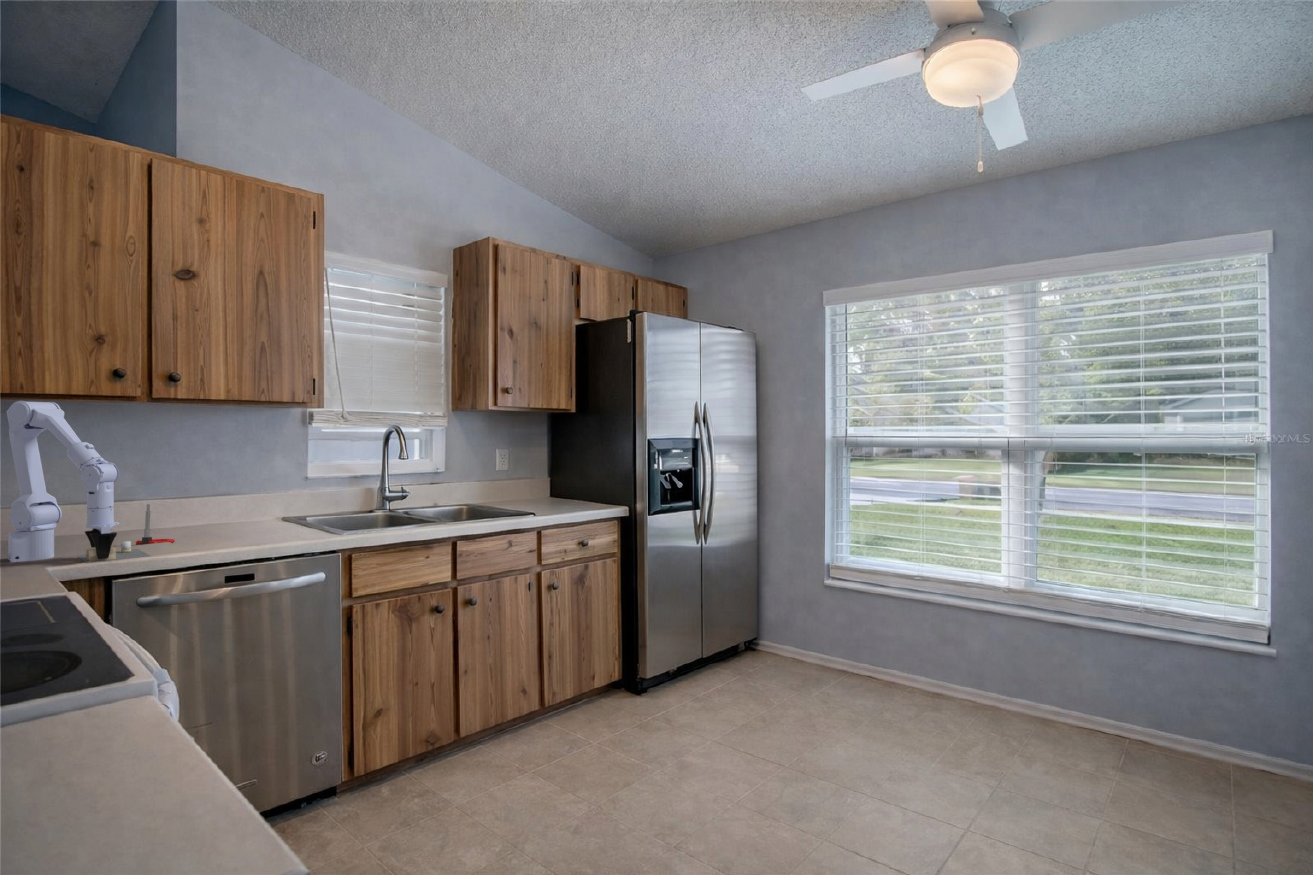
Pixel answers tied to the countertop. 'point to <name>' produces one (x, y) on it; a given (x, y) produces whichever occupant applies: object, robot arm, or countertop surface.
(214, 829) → the countertop surface
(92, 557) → the collar
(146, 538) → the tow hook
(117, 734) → the countertop surface
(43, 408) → the robot arm
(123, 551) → the post mat
